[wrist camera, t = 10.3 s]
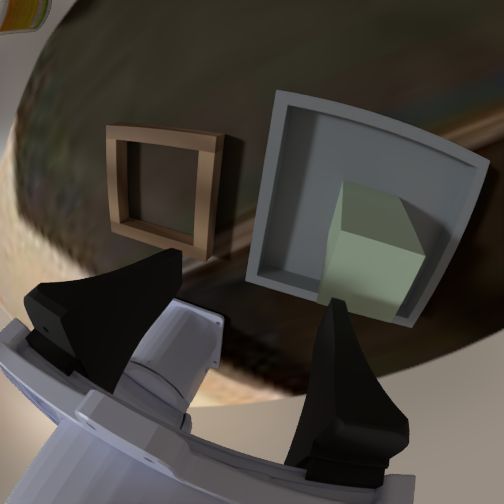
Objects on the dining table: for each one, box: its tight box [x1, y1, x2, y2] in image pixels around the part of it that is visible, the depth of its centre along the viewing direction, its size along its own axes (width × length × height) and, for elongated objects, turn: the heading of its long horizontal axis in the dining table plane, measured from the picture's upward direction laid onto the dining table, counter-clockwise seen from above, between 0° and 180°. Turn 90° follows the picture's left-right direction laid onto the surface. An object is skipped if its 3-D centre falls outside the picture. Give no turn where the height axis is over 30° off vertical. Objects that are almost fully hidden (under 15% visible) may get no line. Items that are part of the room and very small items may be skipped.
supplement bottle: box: [0, 0, 52, 35], centre depth 12 cm, size 5×5×10 cm
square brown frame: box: [106, 123, 225, 262], centre depth 23 cm, size 10×10×2 cm
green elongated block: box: [316, 180, 425, 323], centre depth 16 cm, size 4×4×8 cm
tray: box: [245, 90, 490, 328], centre depth 18 cm, size 14×14×2 cm
